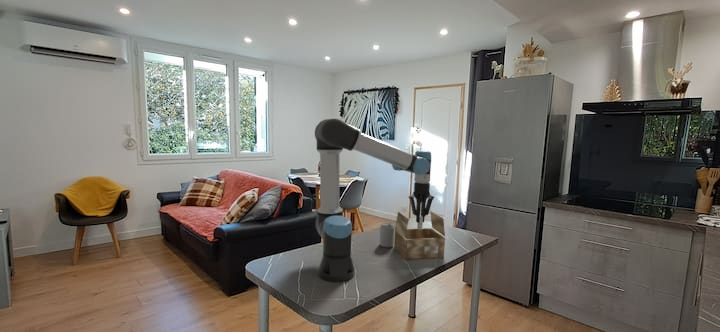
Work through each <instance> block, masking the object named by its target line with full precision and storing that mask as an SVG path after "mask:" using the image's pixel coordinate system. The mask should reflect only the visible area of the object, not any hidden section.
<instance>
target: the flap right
mask: <svg viewBox="0 0 720 332" xmlns="http://www.w3.org/2000/svg"><path fill="white" fill-rule="evenodd" d="M429 215H430V221H431V229H433V230H434V231H436V232H437V233H439V234H440V235H441V236H443V237H446V232H445V221H444V220H445V219H444V217H442V216H441V215H439V214H437V213H436V212H433V211H432V210H429Z"/></svg>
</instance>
